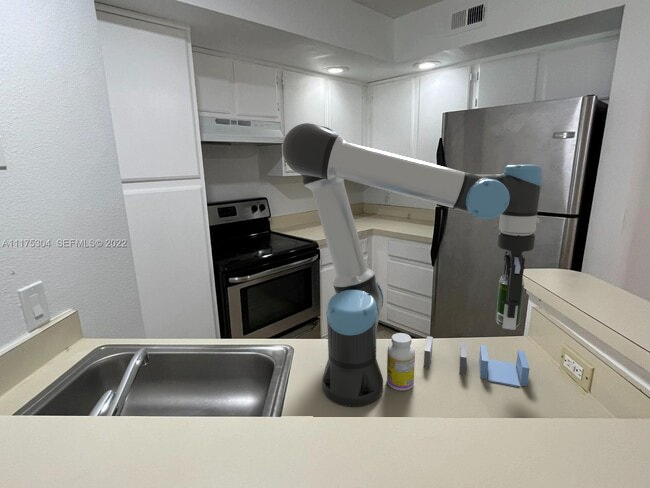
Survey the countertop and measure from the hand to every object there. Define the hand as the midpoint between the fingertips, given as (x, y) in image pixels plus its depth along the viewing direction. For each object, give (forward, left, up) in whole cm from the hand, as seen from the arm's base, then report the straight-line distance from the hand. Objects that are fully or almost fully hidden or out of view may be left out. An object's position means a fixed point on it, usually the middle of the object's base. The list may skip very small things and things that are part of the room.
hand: (507, 322), depth 86 cm
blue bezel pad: (0, 0, -14) cm, 14 cm away
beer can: (0, 0, -1) cm, 1 cm away
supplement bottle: (-24, -13, -15) cm, 31 cm away
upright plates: (-7, 0, -14) cm, 16 cm away
